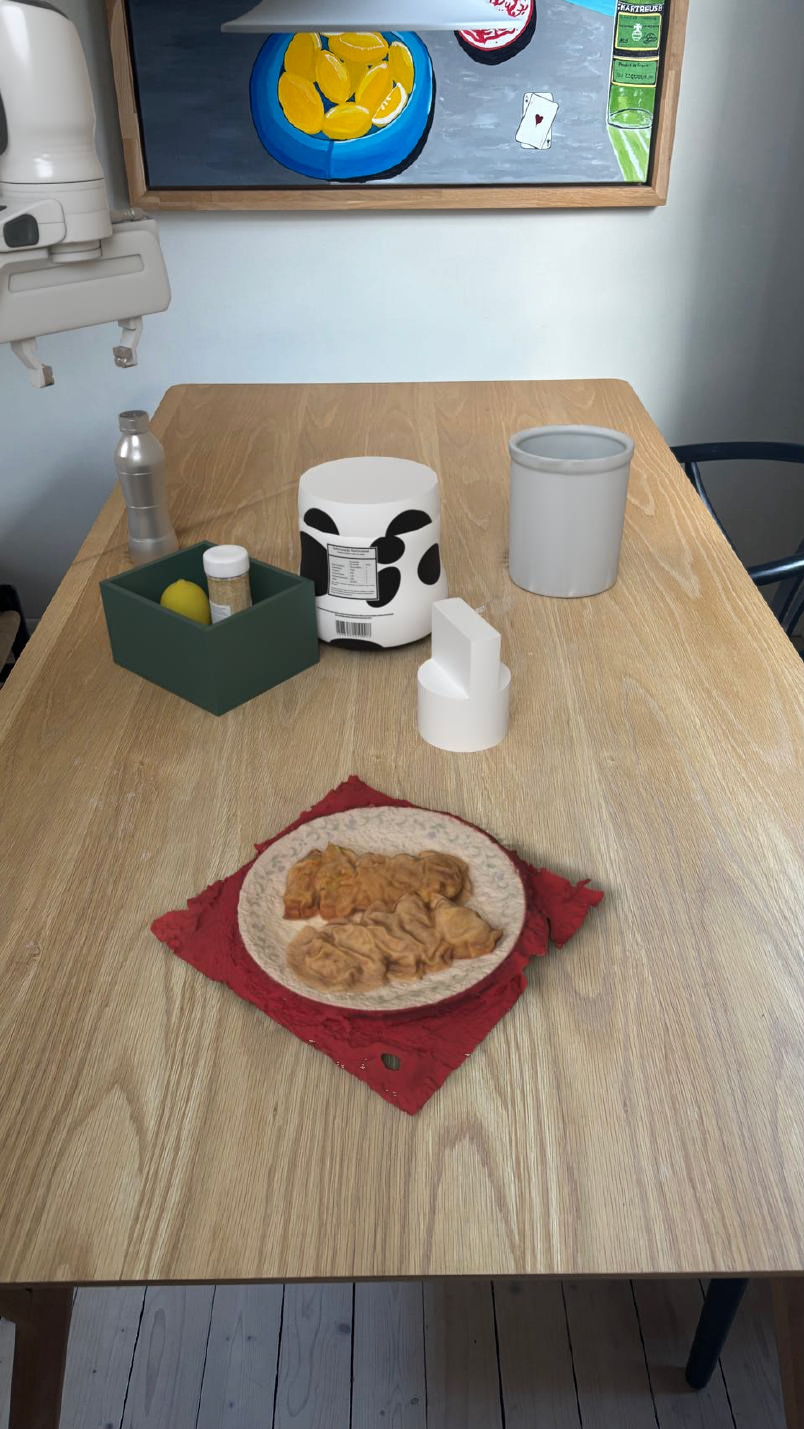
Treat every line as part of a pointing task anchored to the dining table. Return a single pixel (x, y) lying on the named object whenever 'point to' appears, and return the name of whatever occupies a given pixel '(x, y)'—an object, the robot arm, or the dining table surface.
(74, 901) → the dining table surface
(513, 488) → the utensil holder
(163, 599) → the lemon
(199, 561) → the bin
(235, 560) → the sprinkles bottle
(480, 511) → the dining table surface
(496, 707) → the cylinder with rectangular tab
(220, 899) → the plate with food
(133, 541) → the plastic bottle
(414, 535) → the milk container
